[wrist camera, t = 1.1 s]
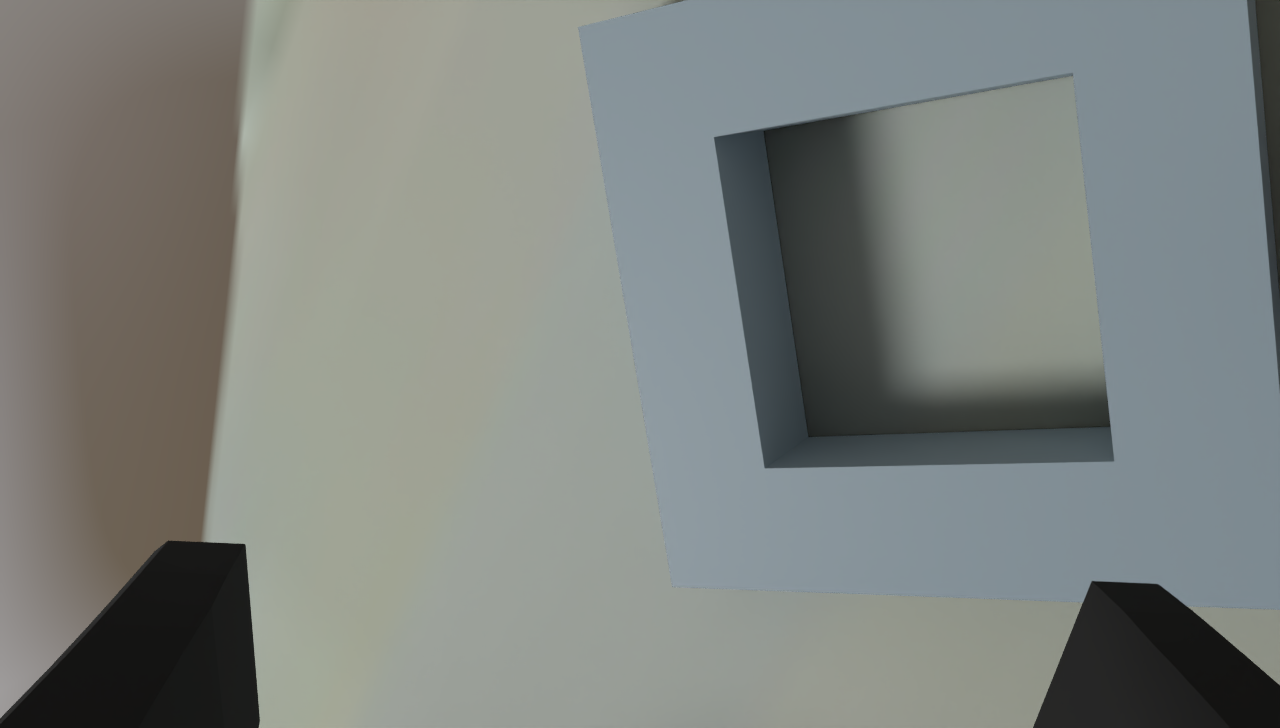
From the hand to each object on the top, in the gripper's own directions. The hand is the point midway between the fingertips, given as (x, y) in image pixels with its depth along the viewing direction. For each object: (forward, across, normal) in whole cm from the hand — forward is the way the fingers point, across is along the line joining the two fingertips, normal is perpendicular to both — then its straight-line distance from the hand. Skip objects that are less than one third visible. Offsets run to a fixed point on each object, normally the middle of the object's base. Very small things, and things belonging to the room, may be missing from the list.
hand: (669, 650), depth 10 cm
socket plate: (+10, -6, +1) cm, 12 cm away
